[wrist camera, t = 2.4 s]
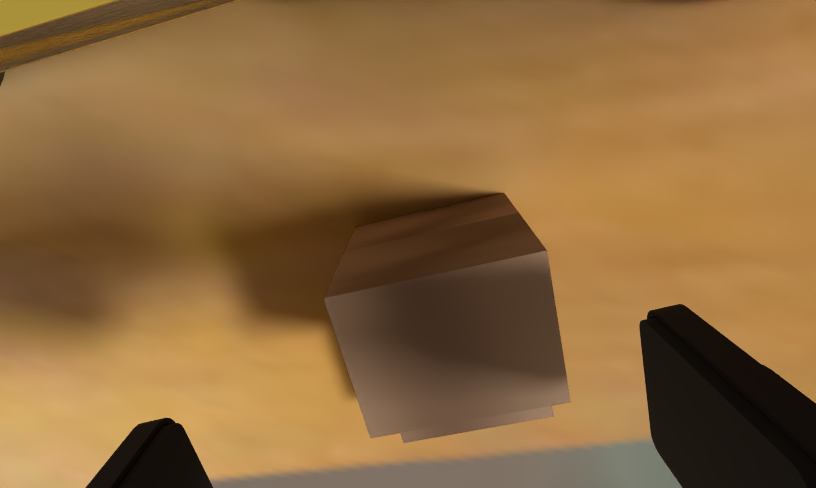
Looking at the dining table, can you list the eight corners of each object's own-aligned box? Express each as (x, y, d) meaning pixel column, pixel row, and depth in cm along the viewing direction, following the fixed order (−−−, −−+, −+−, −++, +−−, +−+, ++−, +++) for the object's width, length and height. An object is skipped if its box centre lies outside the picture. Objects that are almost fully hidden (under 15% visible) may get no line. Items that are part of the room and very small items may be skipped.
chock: (503, 191, 15) (547, 250, 10) (535, 370, 17) (585, 495, 12) (356, 225, 16) (323, 298, 10) (405, 394, 18) (399, 524, 13)
